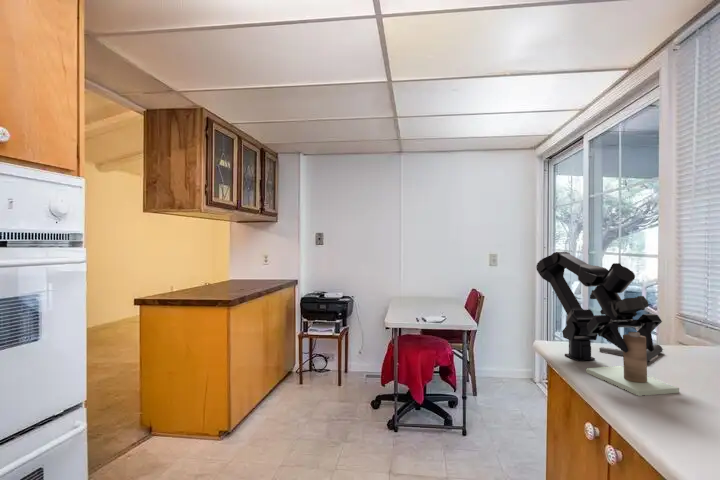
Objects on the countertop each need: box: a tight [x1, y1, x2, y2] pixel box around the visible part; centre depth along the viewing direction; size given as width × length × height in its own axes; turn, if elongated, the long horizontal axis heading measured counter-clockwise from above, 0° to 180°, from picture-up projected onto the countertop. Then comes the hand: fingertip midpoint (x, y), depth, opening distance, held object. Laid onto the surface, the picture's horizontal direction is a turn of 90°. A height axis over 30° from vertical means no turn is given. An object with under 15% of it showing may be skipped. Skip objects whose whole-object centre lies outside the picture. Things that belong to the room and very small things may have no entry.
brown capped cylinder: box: [622, 331, 648, 383], centre depth 110 cm, size 5×5×12 cm
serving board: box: [585, 365, 680, 397], centre depth 112 cm, size 18×12×1 cm, turn 10°
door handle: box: [599, 344, 665, 363], centre depth 138 cm, size 3×20×16 cm
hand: (639, 351), depth 109 cm, fingers open, 7 cm apart
